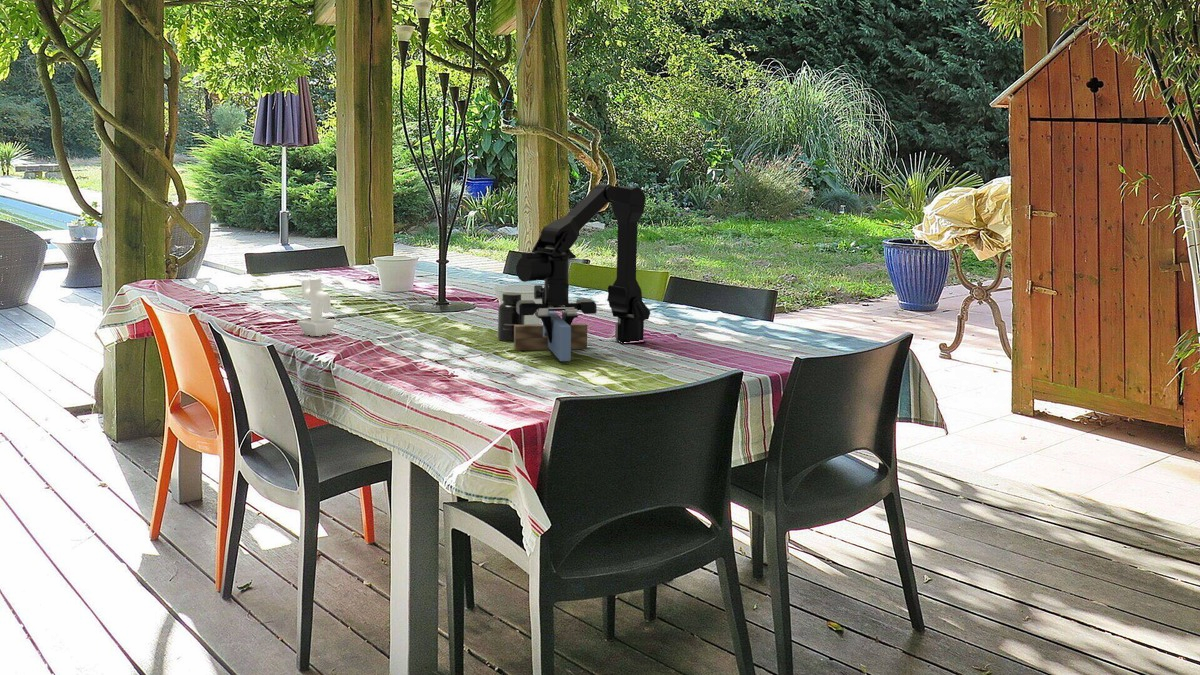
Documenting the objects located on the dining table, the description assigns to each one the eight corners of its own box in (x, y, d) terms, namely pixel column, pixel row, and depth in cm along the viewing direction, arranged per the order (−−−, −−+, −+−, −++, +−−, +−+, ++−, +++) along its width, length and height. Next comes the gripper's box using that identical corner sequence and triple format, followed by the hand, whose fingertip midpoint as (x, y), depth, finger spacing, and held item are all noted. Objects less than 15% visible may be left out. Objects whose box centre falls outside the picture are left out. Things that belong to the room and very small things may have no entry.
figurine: (318, 339, 265) (316, 280, 263) (294, 334, 271) (292, 277, 268) (340, 335, 271) (338, 277, 268) (316, 330, 277) (314, 274, 274)
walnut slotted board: (584, 346, 262) (585, 323, 261) (587, 348, 260) (587, 324, 259) (514, 348, 258) (514, 324, 257) (515, 350, 256) (515, 326, 255)
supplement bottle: (506, 343, 265) (506, 296, 263) (493, 338, 270) (493, 293, 268) (529, 340, 269) (529, 294, 267) (515, 336, 274) (515, 291, 272)
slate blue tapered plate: (542, 341, 263) (542, 309, 262) (552, 340, 264) (552, 309, 262) (560, 361, 240) (560, 327, 239) (570, 360, 241) (571, 326, 239)
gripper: (587, 273, 258) (586, 335, 261) (513, 274, 254) (513, 337, 257) (597, 279, 248) (596, 343, 251) (519, 280, 244) (519, 346, 247)
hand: (556, 342), depth 252 cm, fingers closed on slate blue tapered plate, 2 cm apart
